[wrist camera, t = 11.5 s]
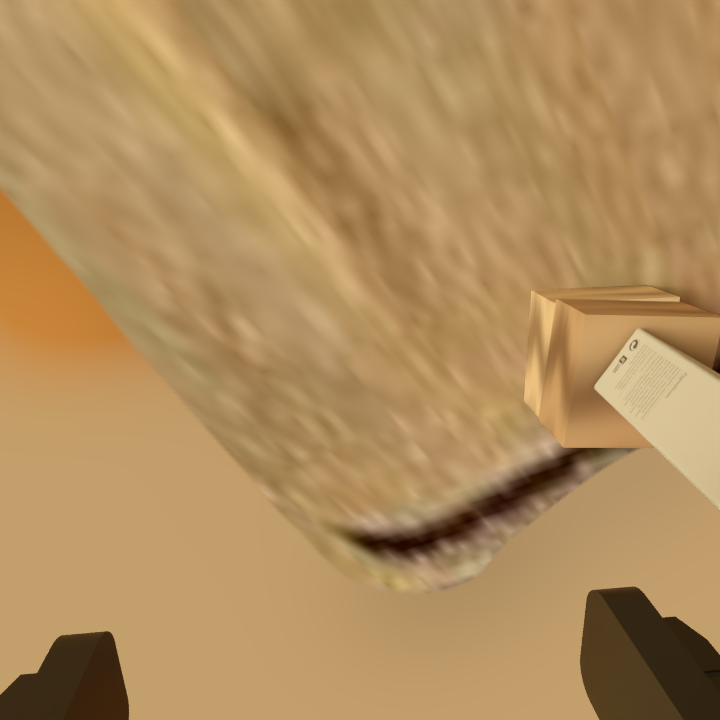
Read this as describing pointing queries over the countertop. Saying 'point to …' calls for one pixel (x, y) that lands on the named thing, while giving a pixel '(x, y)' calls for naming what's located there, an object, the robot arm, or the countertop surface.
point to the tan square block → (598, 350)
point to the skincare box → (669, 406)
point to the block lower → (543, 322)
